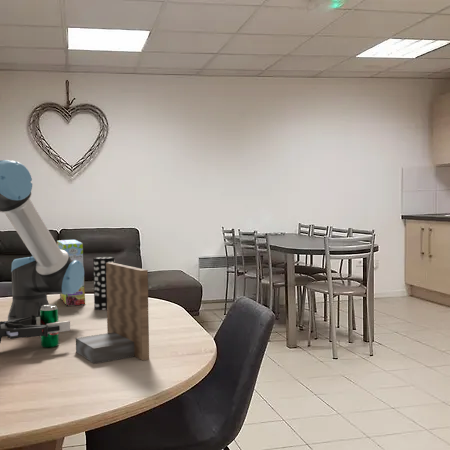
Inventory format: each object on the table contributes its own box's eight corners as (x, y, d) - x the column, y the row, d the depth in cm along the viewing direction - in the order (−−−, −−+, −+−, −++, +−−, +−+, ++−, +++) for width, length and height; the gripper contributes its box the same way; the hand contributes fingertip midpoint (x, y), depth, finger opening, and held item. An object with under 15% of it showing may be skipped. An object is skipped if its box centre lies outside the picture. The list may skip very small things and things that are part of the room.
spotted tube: (96, 306, 230) (94, 257, 229) (116, 305, 230) (115, 256, 229) (93, 310, 221) (91, 259, 220) (114, 309, 222) (113, 258, 221)
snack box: (57, 298, 249) (56, 240, 248) (78, 296, 253) (76, 239, 252) (64, 306, 230) (62, 243, 228) (86, 304, 233) (84, 242, 232)
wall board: (70, 348, 164) (68, 265, 163) (113, 341, 172) (112, 262, 171) (101, 368, 144) (99, 274, 143) (149, 359, 152) (147, 270, 151)
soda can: (53, 348, 164) (52, 307, 163) (37, 348, 165) (36, 307, 164) (62, 344, 169) (61, 304, 168) (46, 343, 170) (45, 303, 169)
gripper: (-24, 338, 166) (52, 327, 179) (-7, 355, 147) (76, 342, 160) (-25, 312, 166) (51, 304, 178) (-8, 326, 147) (76, 316, 159)
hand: (63, 322), depth 169 cm, fingers open, 10 cm apart
